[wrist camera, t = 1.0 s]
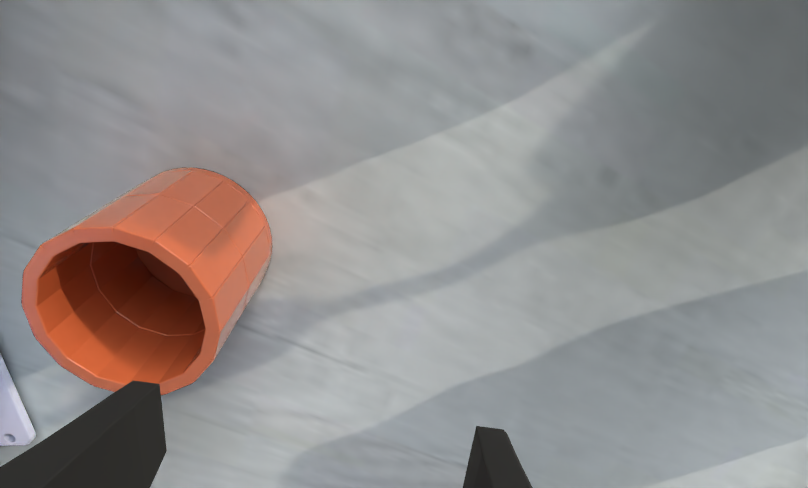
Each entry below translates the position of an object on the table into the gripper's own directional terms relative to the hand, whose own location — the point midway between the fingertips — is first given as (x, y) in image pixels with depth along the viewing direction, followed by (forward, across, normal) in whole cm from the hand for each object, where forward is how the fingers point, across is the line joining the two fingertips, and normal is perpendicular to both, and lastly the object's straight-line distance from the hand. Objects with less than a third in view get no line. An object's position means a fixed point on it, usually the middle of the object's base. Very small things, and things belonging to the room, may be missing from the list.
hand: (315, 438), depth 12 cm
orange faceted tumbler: (+10, +7, 0) cm, 12 cm away
